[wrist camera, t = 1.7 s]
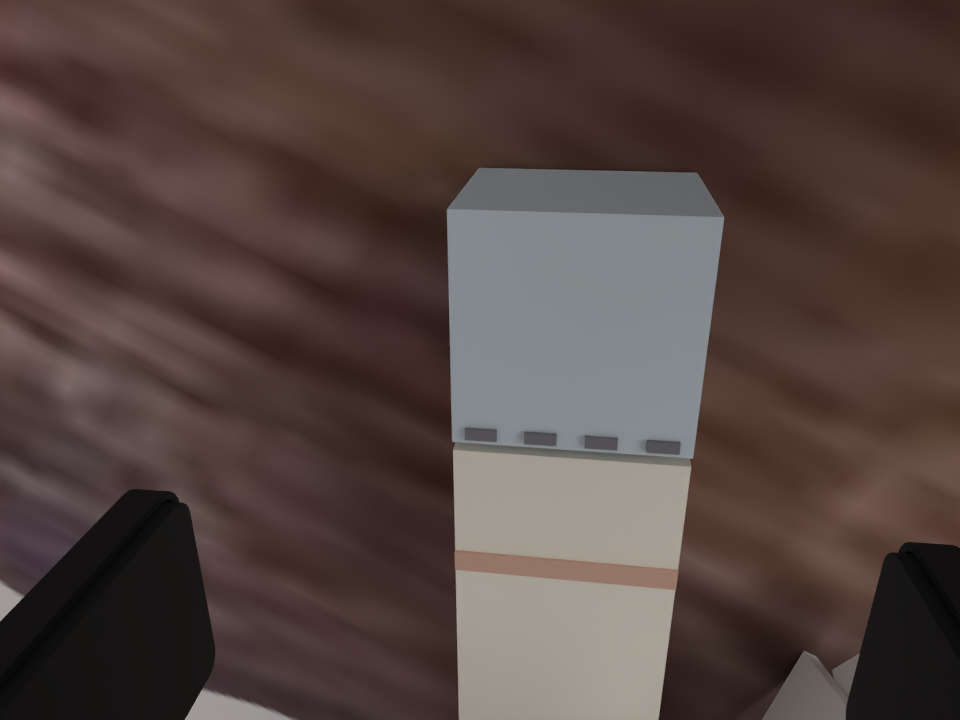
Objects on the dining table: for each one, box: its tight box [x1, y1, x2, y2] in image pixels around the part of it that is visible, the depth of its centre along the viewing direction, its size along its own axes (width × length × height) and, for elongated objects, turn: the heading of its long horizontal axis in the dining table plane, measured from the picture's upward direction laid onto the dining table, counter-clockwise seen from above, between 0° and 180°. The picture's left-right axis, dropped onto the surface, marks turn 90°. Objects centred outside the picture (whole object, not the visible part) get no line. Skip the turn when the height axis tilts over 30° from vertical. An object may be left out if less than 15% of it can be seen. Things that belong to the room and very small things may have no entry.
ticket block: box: [453, 442, 691, 720], centre depth 25 cm, size 6×16×5 cm, turn 0°
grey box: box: [447, 168, 724, 459], centre depth 20 cm, size 6×6×5 cm
